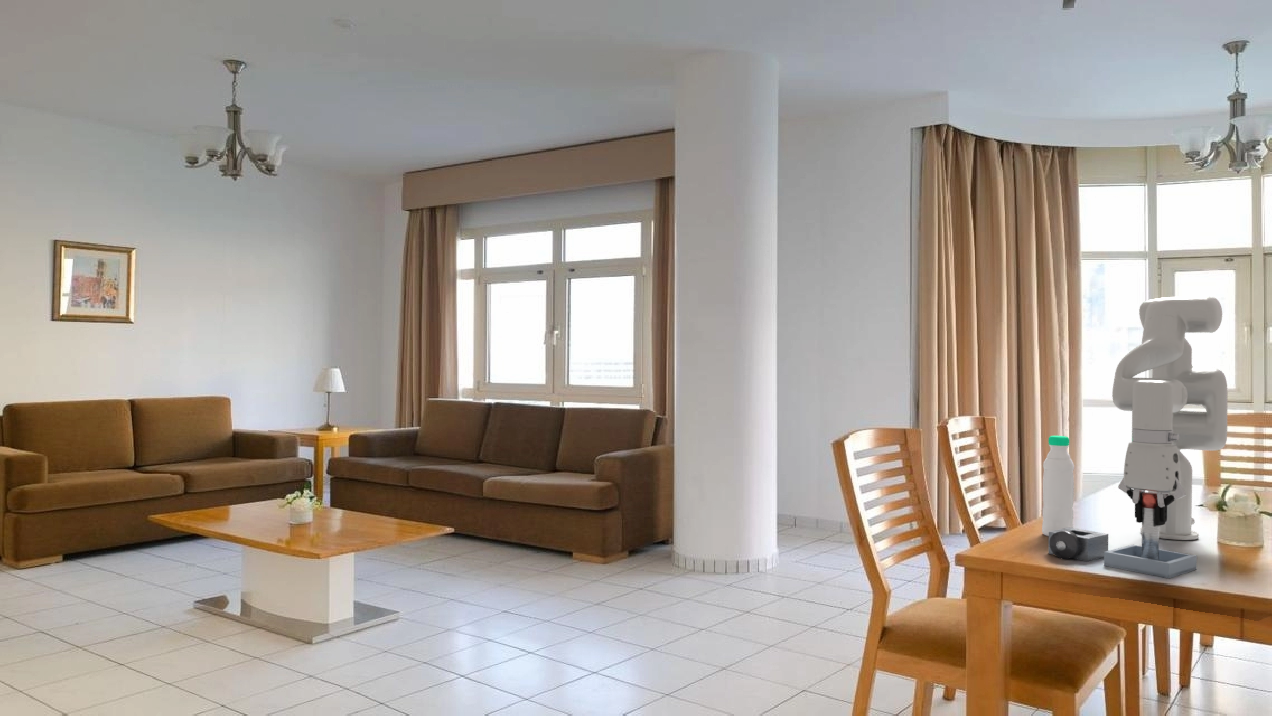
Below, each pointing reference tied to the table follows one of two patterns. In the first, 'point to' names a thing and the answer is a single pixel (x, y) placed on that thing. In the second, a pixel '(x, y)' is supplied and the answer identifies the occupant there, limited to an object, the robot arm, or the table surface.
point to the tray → (1150, 561)
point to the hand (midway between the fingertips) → (1150, 522)
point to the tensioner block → (1077, 544)
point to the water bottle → (1058, 486)
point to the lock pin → (1149, 527)
